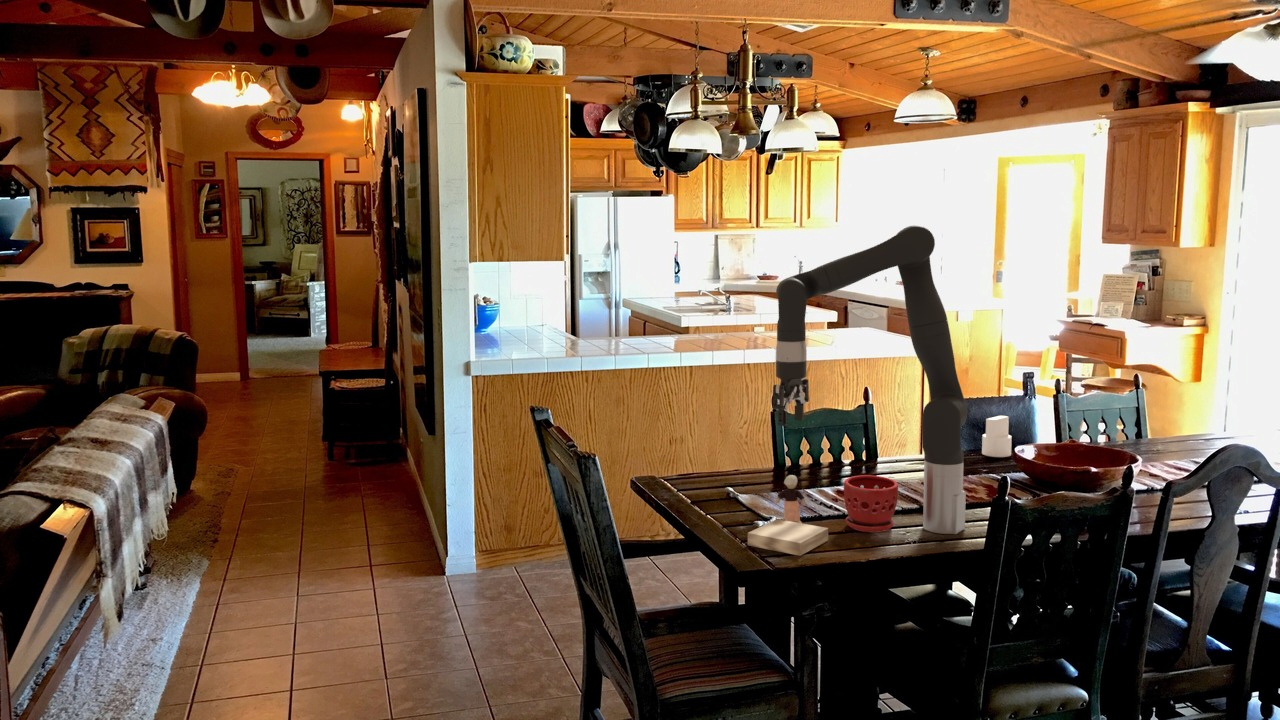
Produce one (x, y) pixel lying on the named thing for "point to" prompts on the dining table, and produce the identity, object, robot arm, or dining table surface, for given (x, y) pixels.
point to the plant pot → (870, 502)
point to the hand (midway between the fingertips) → (791, 422)
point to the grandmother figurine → (791, 499)
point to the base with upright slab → (997, 437)
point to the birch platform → (788, 537)
